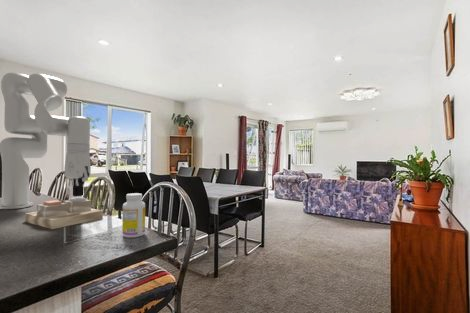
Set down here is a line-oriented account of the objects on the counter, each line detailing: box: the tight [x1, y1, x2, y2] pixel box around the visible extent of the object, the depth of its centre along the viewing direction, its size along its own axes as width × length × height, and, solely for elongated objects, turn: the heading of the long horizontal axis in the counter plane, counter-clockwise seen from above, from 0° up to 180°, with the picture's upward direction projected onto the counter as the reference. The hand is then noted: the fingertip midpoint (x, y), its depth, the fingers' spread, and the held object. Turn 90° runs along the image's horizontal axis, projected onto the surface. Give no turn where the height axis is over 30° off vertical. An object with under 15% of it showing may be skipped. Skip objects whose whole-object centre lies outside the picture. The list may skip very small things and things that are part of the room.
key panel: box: [24, 198, 104, 230], centre depth 98 cm, size 18×18×7 cm
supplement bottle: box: [121, 192, 146, 239], centre depth 82 cm, size 7×7×13 cm
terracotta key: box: [42, 199, 63, 206], centre depth 94 cm, size 4×4×3 cm
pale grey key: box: [68, 196, 87, 202], centre depth 102 cm, size 4×4×3 cm
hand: (78, 195), depth 102 cm, fingers closed
